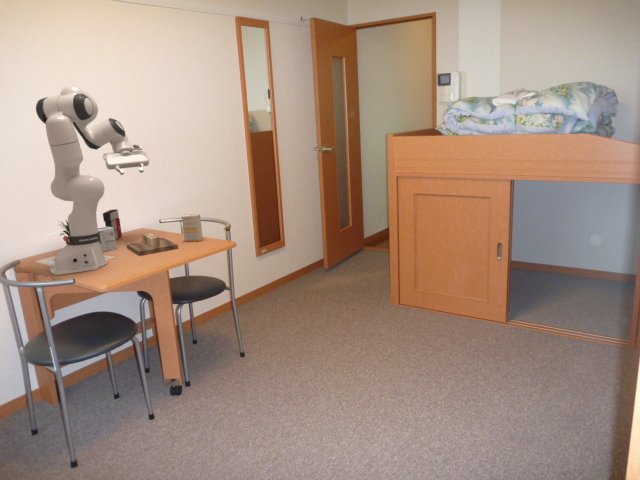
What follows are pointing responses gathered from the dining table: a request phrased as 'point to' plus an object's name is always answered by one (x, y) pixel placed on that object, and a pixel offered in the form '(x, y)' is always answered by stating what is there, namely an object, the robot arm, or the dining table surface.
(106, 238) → the light bulb box
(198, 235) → the supplement box
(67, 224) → the house plant
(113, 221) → the packaged product box
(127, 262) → the dining table surface
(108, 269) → the dining table surface
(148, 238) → the beech block
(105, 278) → the dining table surface
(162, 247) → the walnut board
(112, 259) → the dining table surface
